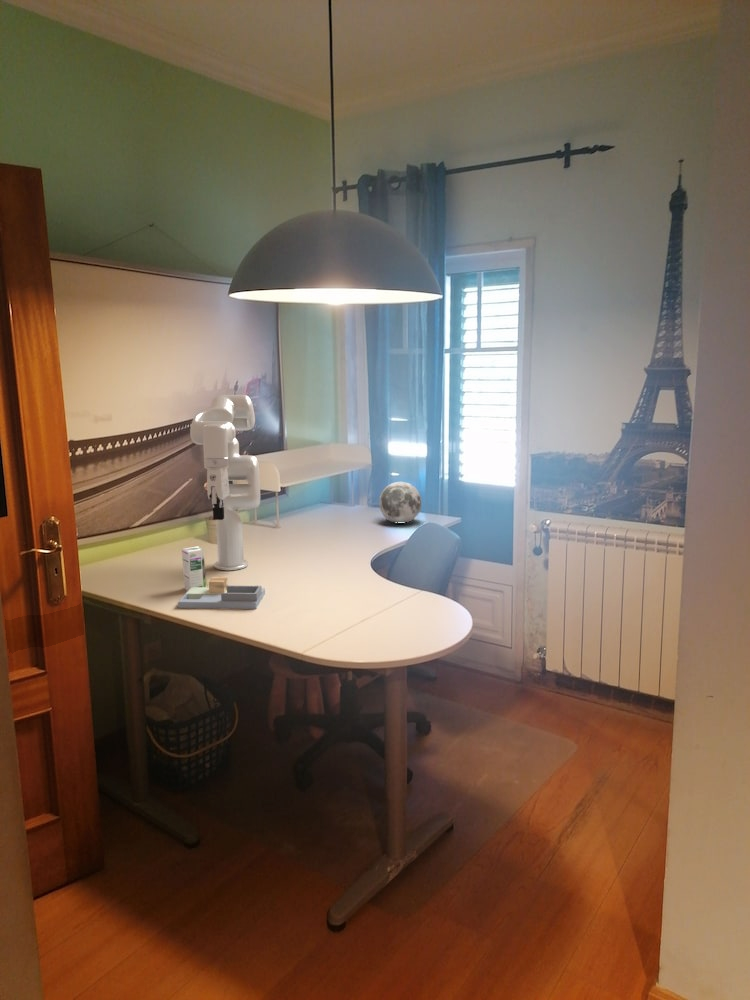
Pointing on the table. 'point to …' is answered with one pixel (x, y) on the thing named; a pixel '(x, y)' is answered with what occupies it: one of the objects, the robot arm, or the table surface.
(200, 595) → the grey sorting tray
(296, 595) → the table surface
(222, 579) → the block
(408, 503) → the moon model
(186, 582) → the syrup box
